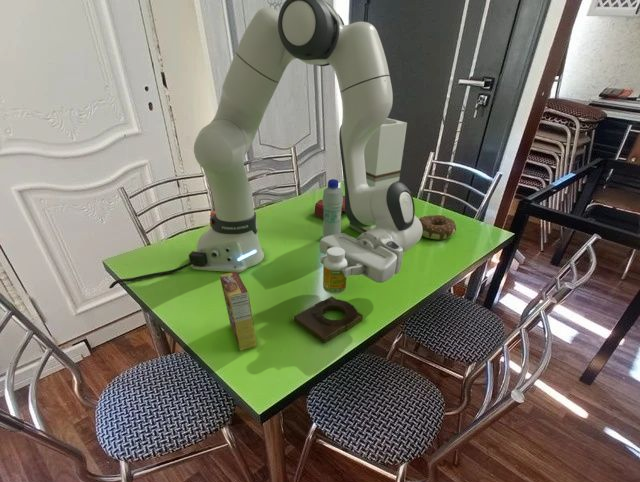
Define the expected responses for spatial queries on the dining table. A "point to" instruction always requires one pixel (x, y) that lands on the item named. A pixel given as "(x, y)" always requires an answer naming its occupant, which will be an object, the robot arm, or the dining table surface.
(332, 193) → the bottle
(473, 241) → the dining table surface
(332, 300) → the holder
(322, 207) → the carton
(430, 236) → the donut
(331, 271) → the supplement bottle
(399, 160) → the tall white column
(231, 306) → the candy box
